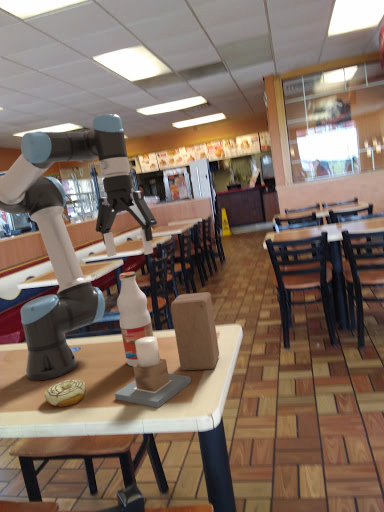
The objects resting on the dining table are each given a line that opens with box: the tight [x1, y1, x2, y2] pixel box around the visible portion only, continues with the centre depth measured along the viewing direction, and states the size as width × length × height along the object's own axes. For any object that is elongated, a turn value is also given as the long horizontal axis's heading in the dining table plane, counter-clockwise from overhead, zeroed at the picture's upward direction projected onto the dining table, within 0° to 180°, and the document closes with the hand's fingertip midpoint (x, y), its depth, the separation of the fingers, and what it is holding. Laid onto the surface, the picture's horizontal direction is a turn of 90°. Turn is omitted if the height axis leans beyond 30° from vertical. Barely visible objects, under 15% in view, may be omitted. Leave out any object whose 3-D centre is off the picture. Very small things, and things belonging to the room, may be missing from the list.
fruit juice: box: [116, 271, 154, 367], centre depth 129 cm, size 9×9×28 cm
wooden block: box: [170, 291, 220, 371], centre depth 120 cm, size 10×10×20 cm
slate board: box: [114, 372, 192, 409], centre depth 109 cm, size 14×14×2 cm
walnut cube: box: [132, 358, 169, 392], centre depth 108 cm, size 6×6×6 cm
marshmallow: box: [135, 336, 161, 367], centre depth 107 cm, size 6×6×6 cm
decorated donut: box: [44, 379, 87, 408], centre depth 111 cm, size 10×11×4 cm
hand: (129, 255), depth 114 cm, fingers open, 13 cm apart
